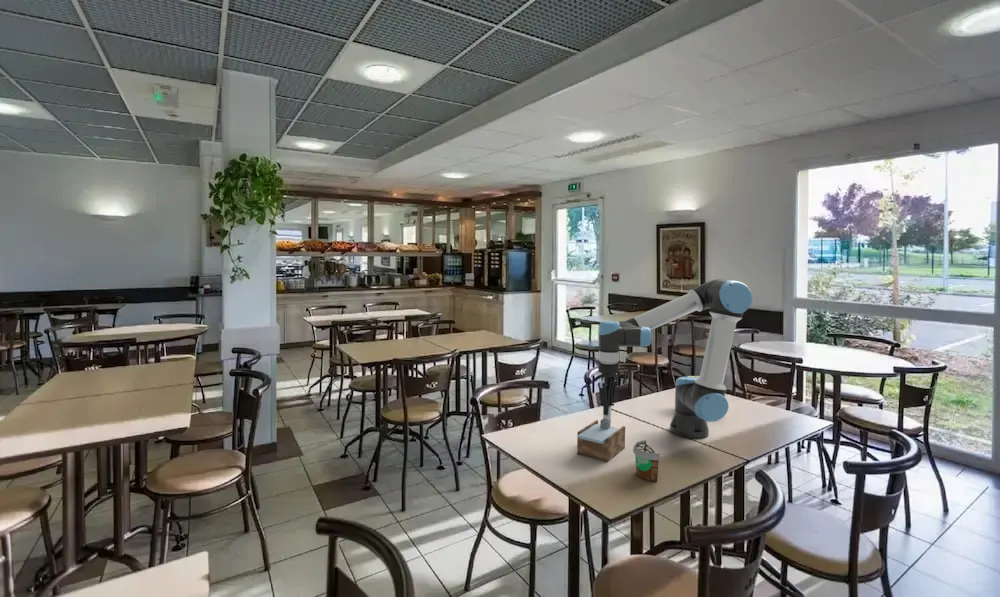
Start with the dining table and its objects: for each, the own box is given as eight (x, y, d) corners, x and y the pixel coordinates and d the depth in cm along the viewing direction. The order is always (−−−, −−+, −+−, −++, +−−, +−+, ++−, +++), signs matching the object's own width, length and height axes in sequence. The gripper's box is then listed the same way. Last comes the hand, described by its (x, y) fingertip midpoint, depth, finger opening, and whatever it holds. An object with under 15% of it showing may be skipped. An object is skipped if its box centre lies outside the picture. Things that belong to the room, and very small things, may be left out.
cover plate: (595, 426, 191) (596, 416, 191) (619, 431, 185) (619, 421, 185) (577, 437, 179) (577, 427, 179) (602, 444, 173) (602, 433, 173)
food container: (627, 468, 170) (628, 440, 169) (644, 467, 170) (645, 439, 169) (640, 484, 158) (641, 454, 157) (659, 484, 158) (659, 454, 157)
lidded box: (596, 440, 195) (596, 420, 194) (624, 448, 187) (625, 426, 187) (577, 454, 182) (577, 431, 181) (607, 462, 175) (607, 439, 174)
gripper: (606, 357, 193) (605, 416, 195) (591, 363, 183) (590, 425, 185) (624, 360, 189) (623, 419, 191) (610, 366, 178) (608, 429, 181)
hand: (607, 422), depth 188 cm, fingers closed
